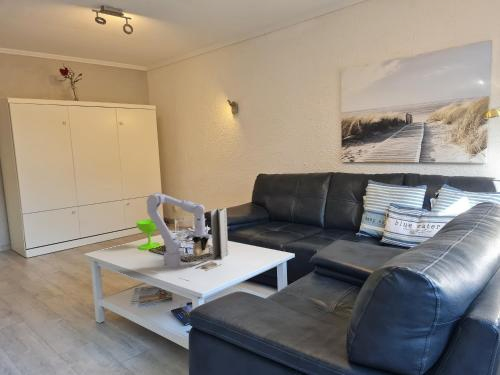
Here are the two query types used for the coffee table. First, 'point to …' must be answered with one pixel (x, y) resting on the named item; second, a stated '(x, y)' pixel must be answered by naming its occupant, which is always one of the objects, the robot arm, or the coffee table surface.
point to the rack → (203, 265)
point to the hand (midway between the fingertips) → (200, 249)
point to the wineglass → (148, 227)
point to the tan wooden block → (199, 249)
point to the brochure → (219, 233)
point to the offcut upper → (209, 265)
